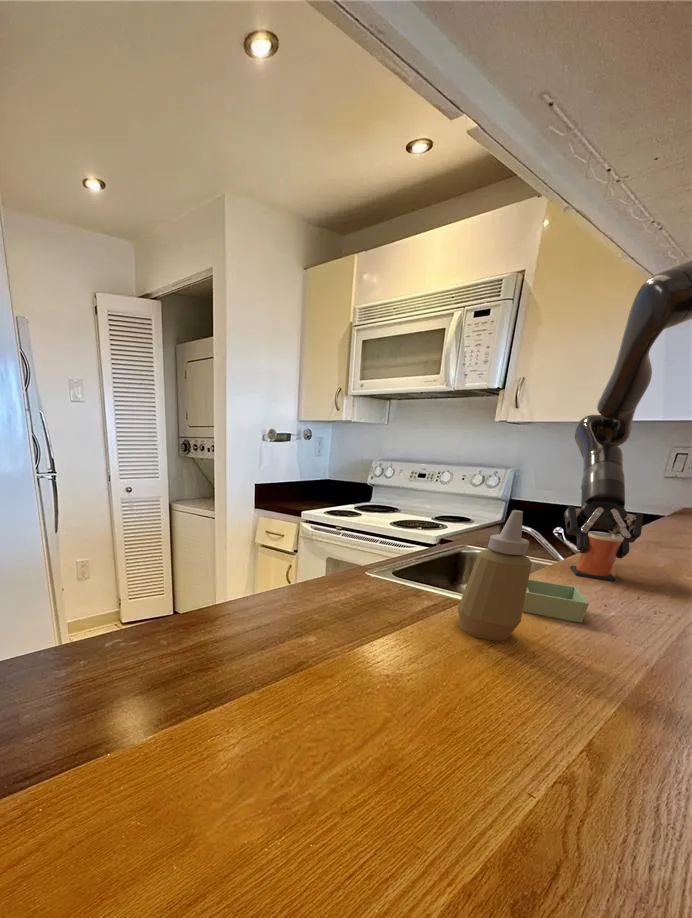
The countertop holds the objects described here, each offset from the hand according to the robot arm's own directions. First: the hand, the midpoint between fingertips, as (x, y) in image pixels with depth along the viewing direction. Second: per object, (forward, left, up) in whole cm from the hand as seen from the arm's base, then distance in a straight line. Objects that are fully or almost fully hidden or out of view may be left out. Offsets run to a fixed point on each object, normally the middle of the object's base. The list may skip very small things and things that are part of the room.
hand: (602, 553), depth 98 cm
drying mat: (0, -2, -5) cm, 5 cm away
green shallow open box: (+13, +30, -5) cm, 34 cm away
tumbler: (0, -2, -4) cm, 5 cm away
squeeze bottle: (+23, +46, -5) cm, 52 cm away
